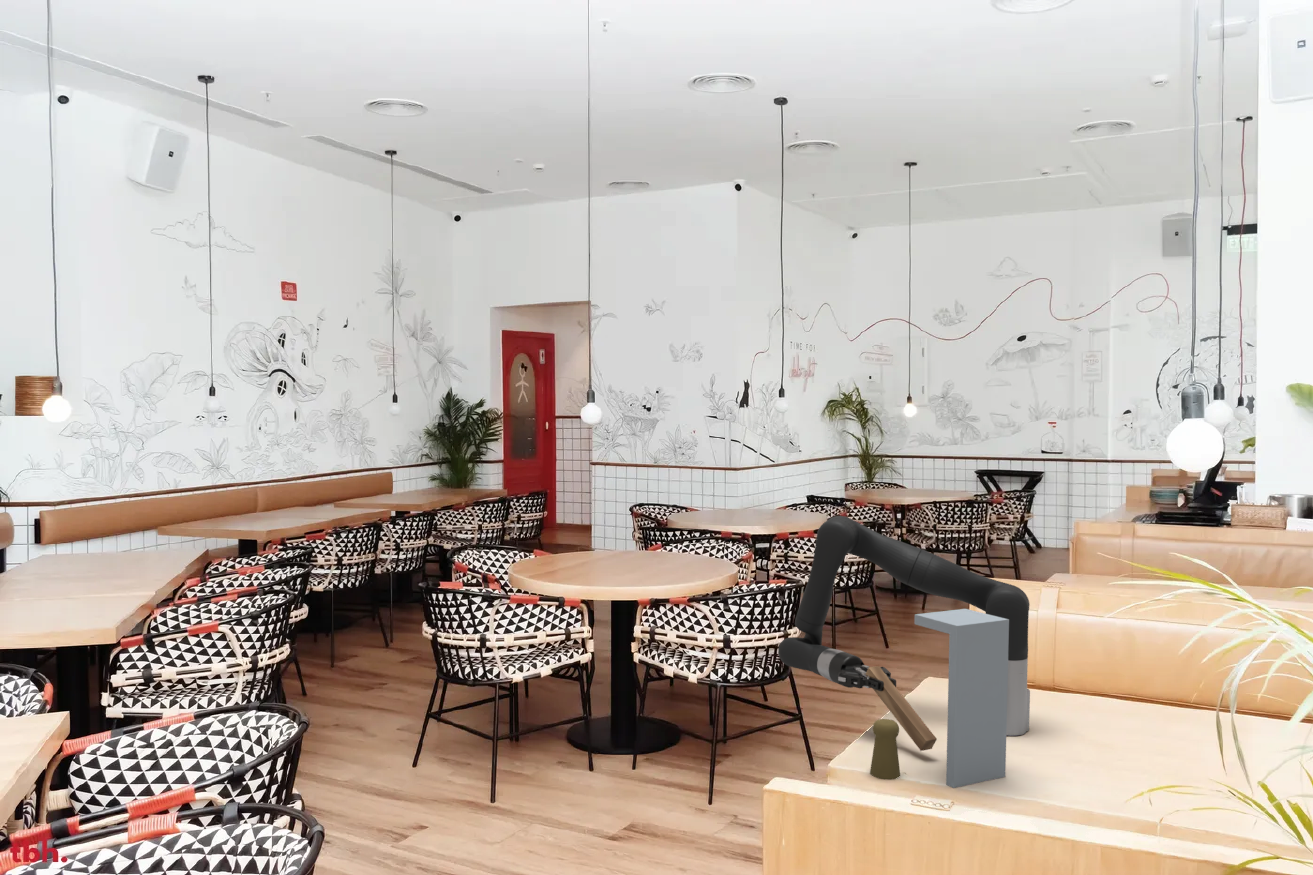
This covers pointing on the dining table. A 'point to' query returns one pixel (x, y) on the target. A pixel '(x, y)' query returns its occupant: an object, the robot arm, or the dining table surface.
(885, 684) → the walnut rod
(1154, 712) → the dining table surface
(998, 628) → the shelf stand
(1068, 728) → the dining table surface
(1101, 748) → the dining table surface
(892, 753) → the olive pawn
